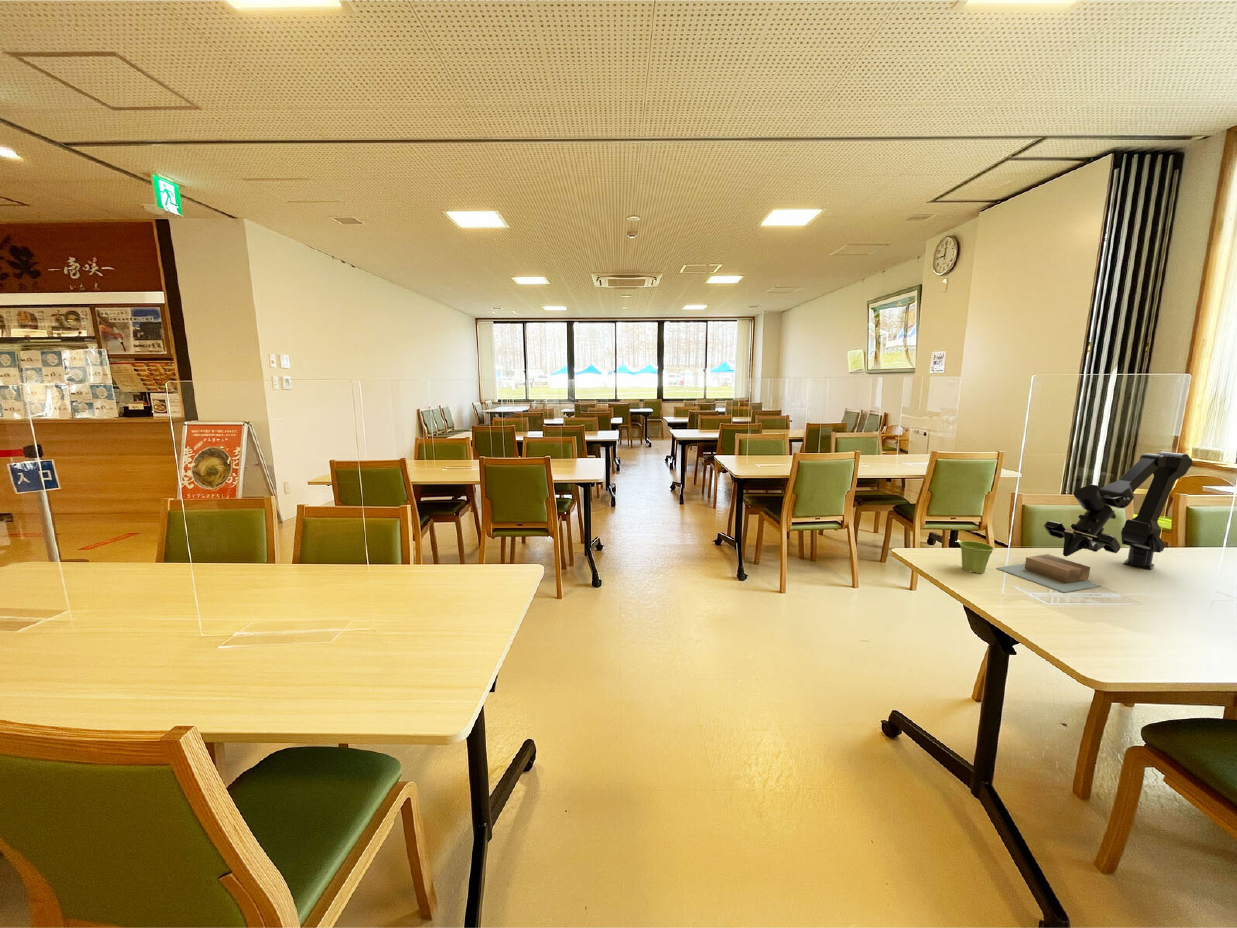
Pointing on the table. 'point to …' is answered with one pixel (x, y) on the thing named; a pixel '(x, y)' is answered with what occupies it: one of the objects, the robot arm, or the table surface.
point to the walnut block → (1057, 568)
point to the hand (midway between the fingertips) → (1064, 555)
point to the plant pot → (975, 555)
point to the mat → (1047, 579)
